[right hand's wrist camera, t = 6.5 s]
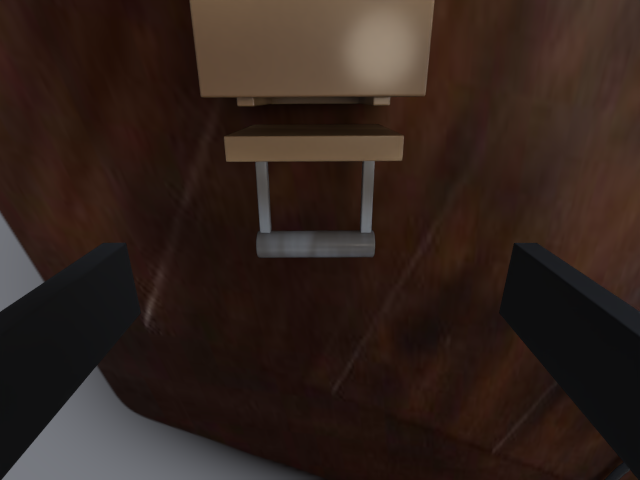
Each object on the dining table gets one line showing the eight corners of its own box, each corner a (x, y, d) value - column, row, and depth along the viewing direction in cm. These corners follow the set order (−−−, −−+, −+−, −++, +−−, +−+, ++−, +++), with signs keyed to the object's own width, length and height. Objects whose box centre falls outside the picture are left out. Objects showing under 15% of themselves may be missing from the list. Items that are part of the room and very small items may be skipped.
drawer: (373, 225, 27) (393, 273, 20) (260, 226, 27) (237, 274, 20) (398, -261, 18) (455, -520, 10) (226, -259, 18) (158, -515, 10)
